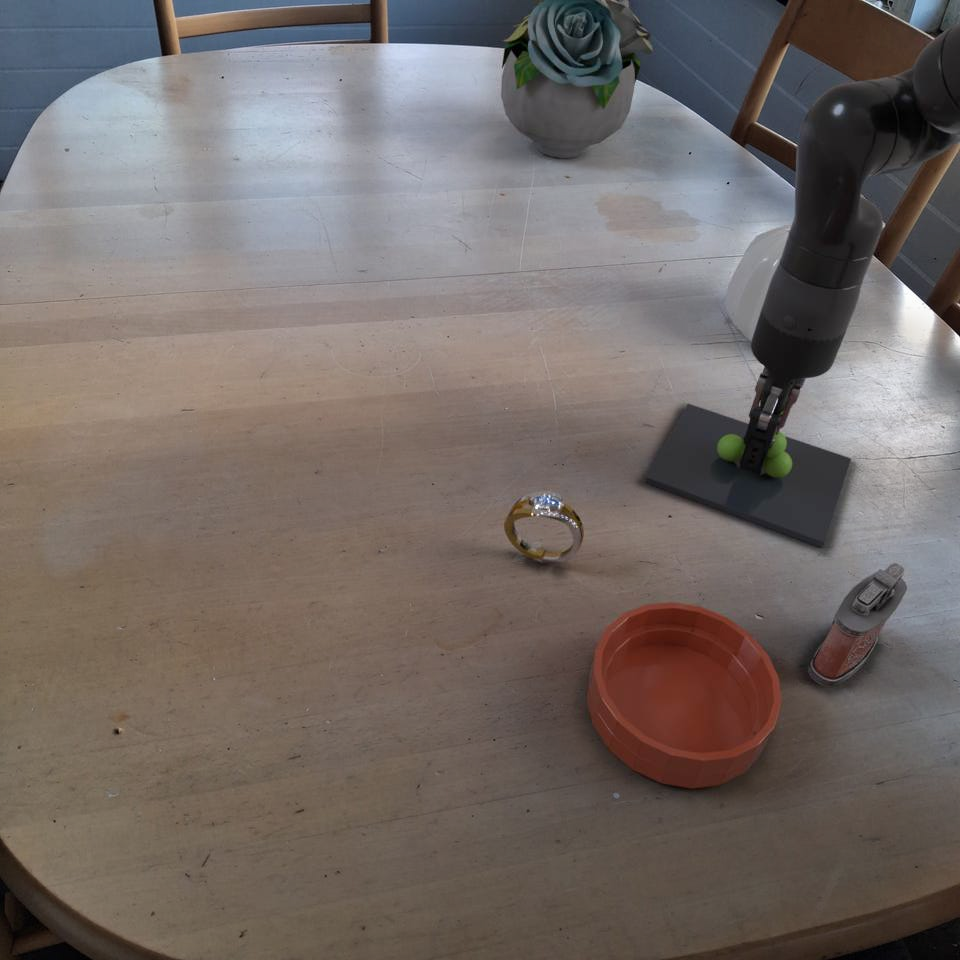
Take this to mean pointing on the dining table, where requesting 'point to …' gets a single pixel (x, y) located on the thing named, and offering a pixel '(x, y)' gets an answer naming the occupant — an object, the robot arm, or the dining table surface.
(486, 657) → the dining table surface
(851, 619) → the lighter
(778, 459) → the grapes
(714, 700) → the bowl
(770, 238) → the vase
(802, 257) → the robot arm
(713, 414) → the slate board
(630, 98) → the flower arrangement
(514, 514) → the ring
